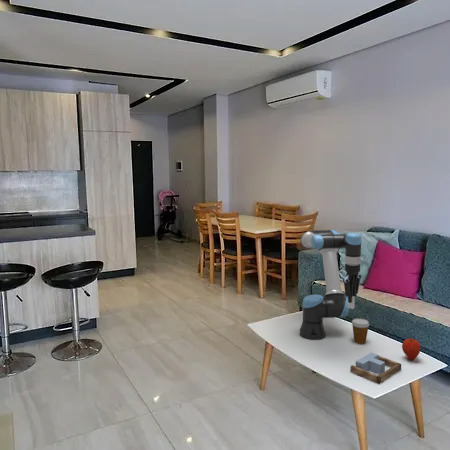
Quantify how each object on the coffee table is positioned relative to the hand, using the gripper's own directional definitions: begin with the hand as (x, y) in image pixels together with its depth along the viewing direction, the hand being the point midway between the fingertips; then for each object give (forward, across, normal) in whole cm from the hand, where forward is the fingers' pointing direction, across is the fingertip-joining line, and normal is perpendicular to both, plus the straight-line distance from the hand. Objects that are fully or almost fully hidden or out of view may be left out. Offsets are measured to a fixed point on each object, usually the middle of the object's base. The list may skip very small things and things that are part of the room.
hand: (351, 307), depth 207 cm
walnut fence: (+25, -5, -18) cm, 31 cm away
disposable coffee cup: (+26, +18, +6) cm, 32 cm away
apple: (+26, +19, -23) cm, 40 cm away
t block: (+25, -5, -17) cm, 31 cm away
